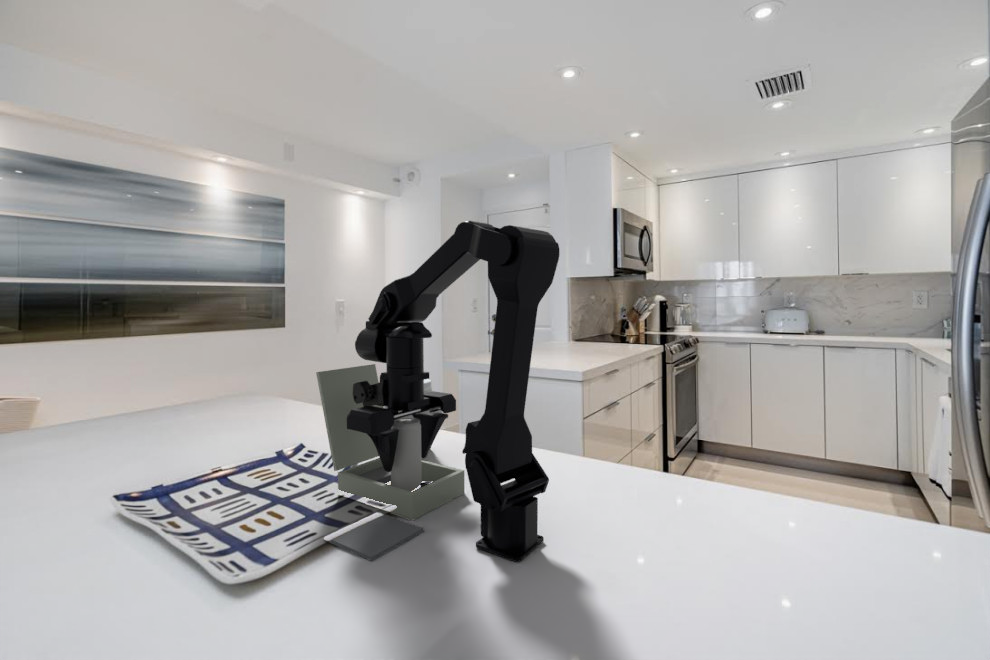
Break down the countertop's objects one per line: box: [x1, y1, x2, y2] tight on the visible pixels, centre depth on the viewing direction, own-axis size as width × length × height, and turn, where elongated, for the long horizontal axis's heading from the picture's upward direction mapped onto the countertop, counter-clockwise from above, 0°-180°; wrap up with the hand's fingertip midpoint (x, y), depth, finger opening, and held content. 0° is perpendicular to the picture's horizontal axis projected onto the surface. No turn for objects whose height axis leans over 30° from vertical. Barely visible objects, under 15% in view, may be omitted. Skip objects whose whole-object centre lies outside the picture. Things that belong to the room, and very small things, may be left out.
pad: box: [328, 514, 424, 562], centre depth 64 cm, size 9×9×1 cm
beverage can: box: [391, 418, 422, 491], centre depth 77 cm, size 5×5×12 cm
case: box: [337, 457, 465, 521], centre depth 78 cm, size 16×12×4 cm
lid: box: [316, 363, 384, 472], centre depth 83 cm, size 16×12×1 cm
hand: (406, 464), depth 77 cm, fingers open, 7 cm apart
